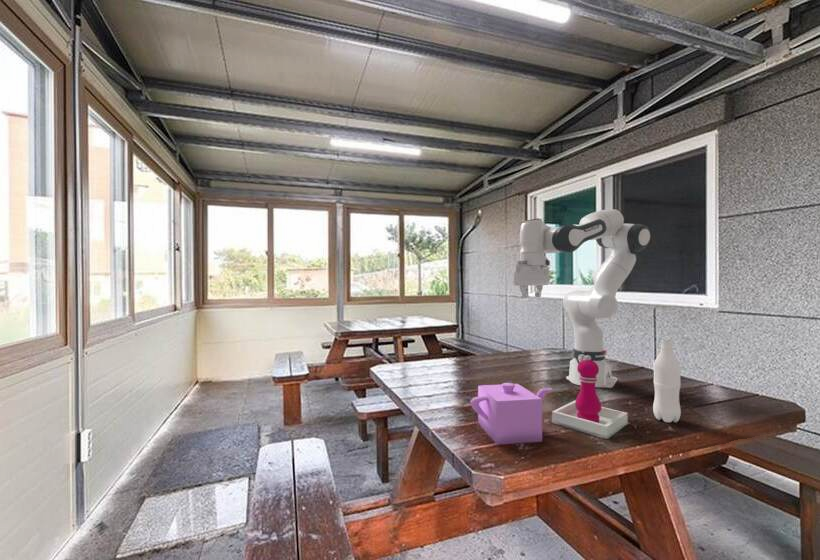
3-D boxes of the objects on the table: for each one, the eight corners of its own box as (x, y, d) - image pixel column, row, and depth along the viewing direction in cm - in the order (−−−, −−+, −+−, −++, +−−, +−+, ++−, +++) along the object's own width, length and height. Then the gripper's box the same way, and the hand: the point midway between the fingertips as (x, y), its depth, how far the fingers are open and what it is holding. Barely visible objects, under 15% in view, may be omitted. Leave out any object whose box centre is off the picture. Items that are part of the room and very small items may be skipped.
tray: (575, 410, 127) (575, 400, 126) (627, 424, 115) (627, 412, 115) (551, 422, 116) (551, 411, 116) (606, 439, 104) (606, 426, 104)
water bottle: (685, 425, 114) (685, 342, 114) (659, 423, 115) (659, 341, 115) (673, 416, 121) (674, 338, 121) (649, 415, 122) (649, 338, 122)
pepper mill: (602, 426, 111) (602, 358, 111) (575, 422, 114) (575, 356, 114) (600, 417, 118) (600, 353, 118) (574, 414, 120) (574, 352, 120)
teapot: (566, 440, 104) (566, 389, 104) (479, 446, 100) (479, 393, 100) (539, 419, 119) (539, 375, 119) (462, 424, 115) (462, 378, 115)
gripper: (524, 260, 134) (524, 298, 134) (552, 261, 148) (552, 296, 148) (509, 260, 139) (509, 298, 139) (537, 262, 153) (537, 296, 153)
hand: (531, 297), depth 144 cm, fingers open, 8 cm apart
